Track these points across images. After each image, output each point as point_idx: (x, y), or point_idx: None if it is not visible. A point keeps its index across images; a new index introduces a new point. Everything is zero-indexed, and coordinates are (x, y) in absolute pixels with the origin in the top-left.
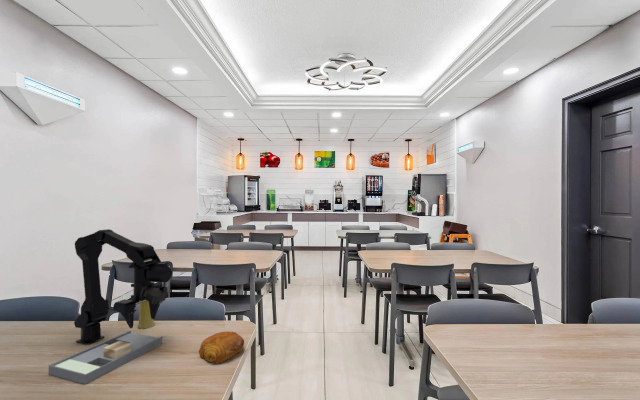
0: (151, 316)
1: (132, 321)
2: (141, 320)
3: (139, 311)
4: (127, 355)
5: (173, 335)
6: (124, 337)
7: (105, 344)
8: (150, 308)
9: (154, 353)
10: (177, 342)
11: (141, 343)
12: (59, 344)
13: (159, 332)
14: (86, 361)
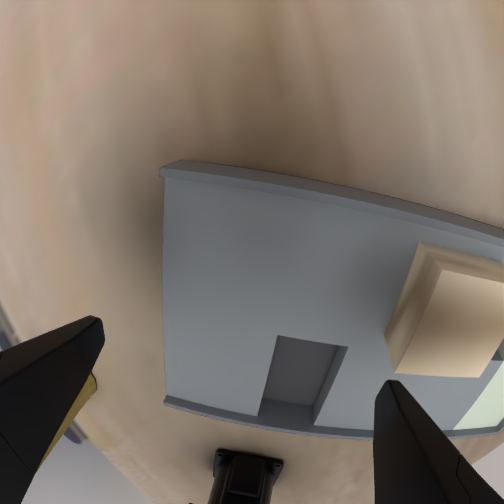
0: (91, 360)
1: (432, 436)
2: (75, 402)
3: (58, 438)
4: (469, 226)
5: (72, 180)
6: (225, 395)
7: (321, 421)
8: (46, 434)
9: (324, 114)
10: (139, 78)
11: (279, 261)
12: (292, 498)
13: (77, 282)
14: (489, 372)
